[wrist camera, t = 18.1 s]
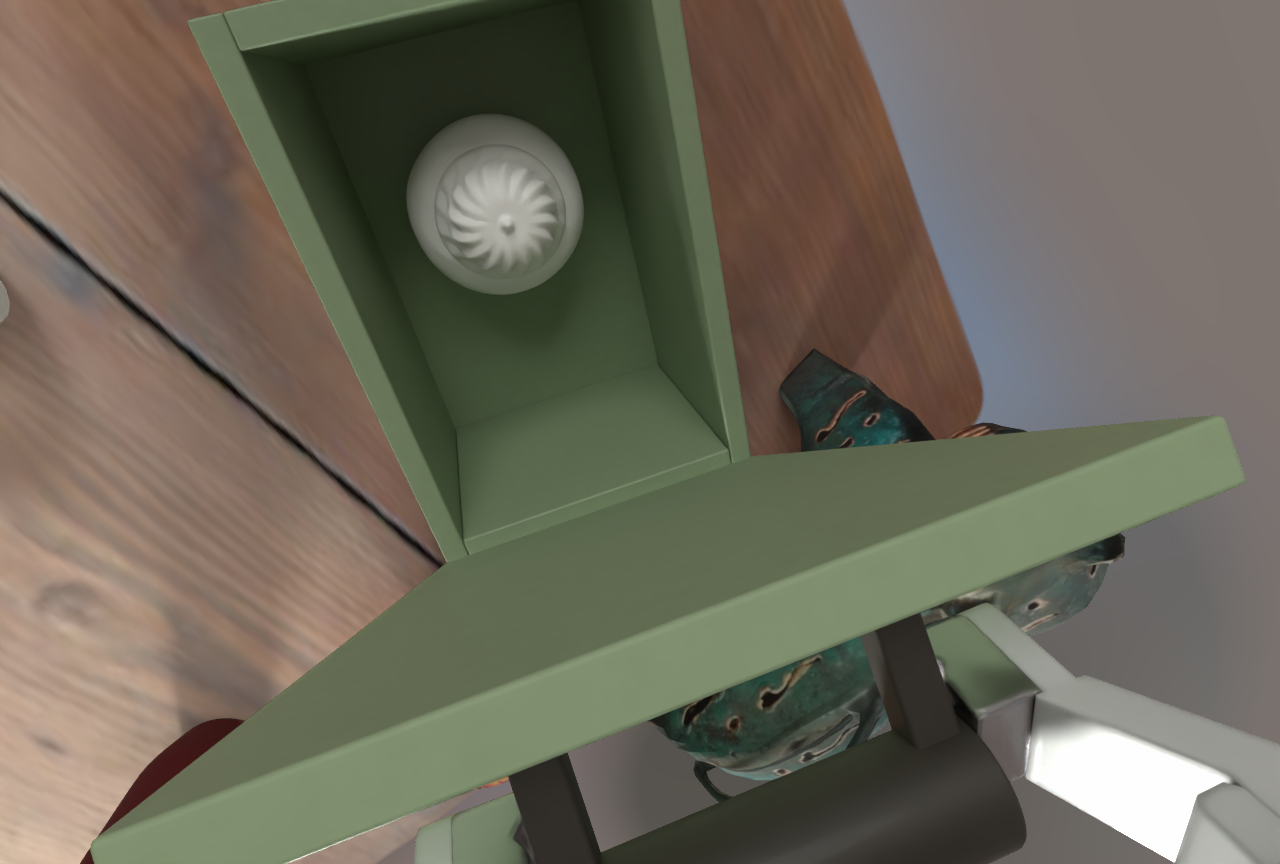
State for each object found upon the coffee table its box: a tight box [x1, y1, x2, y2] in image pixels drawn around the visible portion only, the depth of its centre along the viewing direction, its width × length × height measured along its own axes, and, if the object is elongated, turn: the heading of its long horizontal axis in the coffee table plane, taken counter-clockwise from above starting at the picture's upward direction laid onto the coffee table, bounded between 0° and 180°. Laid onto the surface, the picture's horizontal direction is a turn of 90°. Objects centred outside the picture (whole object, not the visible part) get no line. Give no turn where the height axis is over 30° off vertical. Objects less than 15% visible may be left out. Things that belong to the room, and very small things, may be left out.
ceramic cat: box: [648, 349, 1125, 802], centre depth 29 cm, size 20×6×20 cm, turn 136°
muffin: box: [406, 113, 584, 295], centre depth 24 cm, size 6×6×7 cm
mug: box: [80, 719, 245, 864], centre depth 32 cm, size 10×8×10 cm
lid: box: [90, 416, 1245, 864], centre depth 15 cm, size 17×12×5 cm
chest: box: [188, 0, 751, 563], centre depth 24 cm, size 17×12×10 cm
